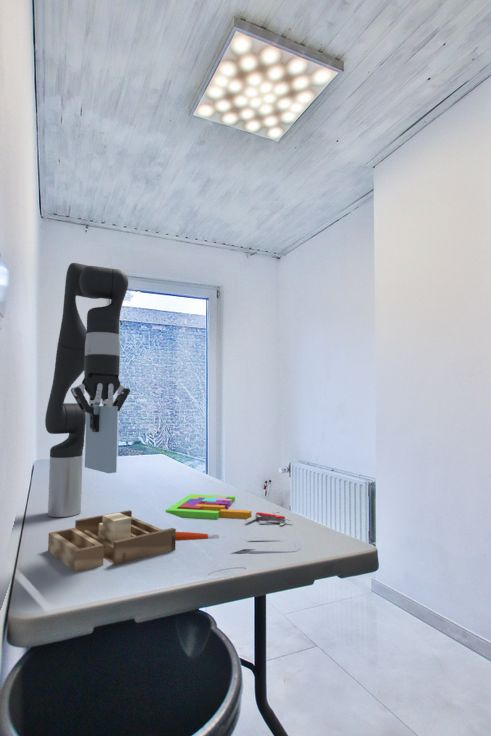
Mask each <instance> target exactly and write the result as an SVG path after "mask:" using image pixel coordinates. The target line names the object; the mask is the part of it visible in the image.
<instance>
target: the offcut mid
mask: <svg viewBox="0 0 491 736" xmlns="http://www.w3.org/2000/svg"><path fill="white" fill-rule="evenodd" d="M102 524H103V523H99V534H101V535H103V536H104V537H106V538H108V539H110V540H112V541H113V542H114V541H117V540H121V539H126V538H130V537H131V528H127V529H122V530H118V531H112V530H110V529H109V528H107V527H105V526H103V525H102Z"/></svg>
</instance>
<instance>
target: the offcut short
mask: <svg viewBox="0 0 491 736" xmlns="http://www.w3.org/2000/svg"><path fill="white" fill-rule="evenodd" d="M113 513H114V514H112V513H108V515H106V514H102V515H103V524H102V525H103V526H105V527H107V528H109V529H110V530H112V531H118V530H122V529H127V528H131V517H128V516H126V515H124V514H121V513H117V512H113Z"/></svg>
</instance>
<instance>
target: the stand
mask: <svg viewBox="0 0 491 736" xmlns="http://www.w3.org/2000/svg"><path fill="white" fill-rule="evenodd" d="M47 540H48V541H47V542H48V543H47V551H48V553H50V554H52V555H53V556H54V557H55V558H57V559H58V560H59V561H60V562H62V563H63V564H64V565H65V566H67V568H69V569H70V570H72V572H74V573H78V572H82V571H85V570H89V569H93V568H96V567H100V566H104V558H103V556H104V545H103V544H101V543H99V542H98V541H96V540H94V539H92V538H91V537H89V536H87V535H86V534H84V533H82V532H81V531H79V530H77V529H76V528H75V527H71V528H66V529H61V530H56V531H55V530H54V531H50V532H48V539H47Z"/></svg>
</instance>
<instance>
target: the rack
mask: <svg viewBox="0 0 491 736" xmlns="http://www.w3.org/2000/svg"><path fill="white" fill-rule="evenodd" d="M114 513H115V512H112V513H111V514H114ZM116 513H121V514H124V515H126V516H128V517H131V537H130V538H126V539H121V540H117V541H114V545H112V544H110V543H109V542H107V541H105V540H103V539H102V538H100V537H98V533H99V523H103V515H104V514H102V515H97V516H96V515H95V516H92V517H91V516H90V517H85V518H84V517H83V518H79V519H75V522H74V525H75V527H74V528H76V529H77V530H79V531H81V532H82V533H84V534H86V535H87V536H89V537H91V538H92V539H94V540H96V541H98V542H99V543H101V544H103V545H104V556H103V559H105V560H106V561H108V562H109V563H110V564H112V565H114V566H119V565H122V564H127V563H130V562H134V561H137V560H138V561H139V560H141V559H145V558H149V557H153V556H156V555H160V554H164V553H167V552H171V551H175V550H176V541H177V540H176V532H177V531H176V528H174V527H170V528H166V529H161V528H159V527H157V526H155V525H152V524H149V523H148V522H145V521H142V520H141V519H139V518H136V517H133V516H132V513H133V511H132V510H129V509H128V510H123V511H118V512H116ZM108 514H109V513H108ZM108 514H105V515H108Z"/></svg>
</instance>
